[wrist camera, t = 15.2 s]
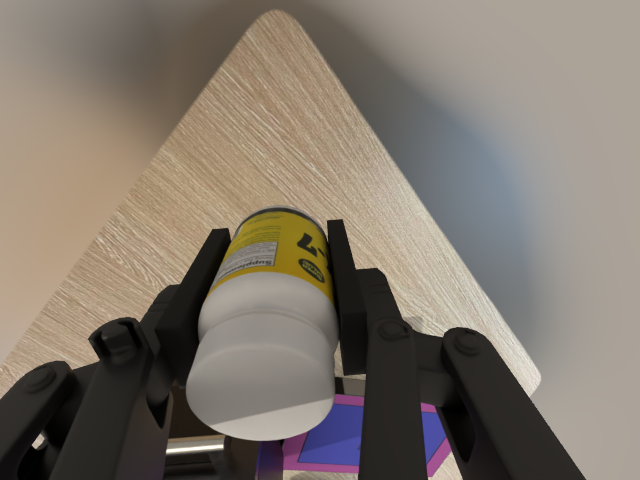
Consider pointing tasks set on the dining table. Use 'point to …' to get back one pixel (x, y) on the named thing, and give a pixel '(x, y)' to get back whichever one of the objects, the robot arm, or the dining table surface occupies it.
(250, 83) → the dining table surface
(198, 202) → the dining table surface
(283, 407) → the supplement bottle
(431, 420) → the book
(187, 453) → the oven door
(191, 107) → the dining table surface
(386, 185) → the dining table surface
